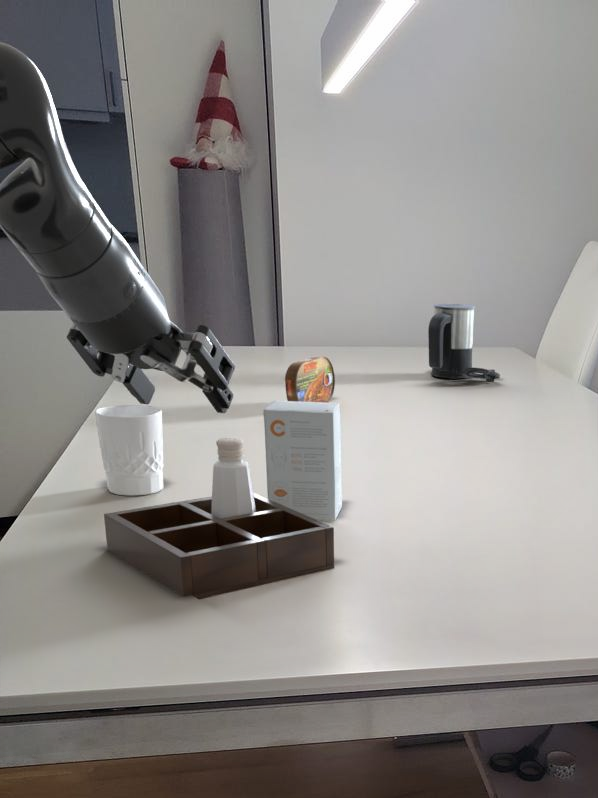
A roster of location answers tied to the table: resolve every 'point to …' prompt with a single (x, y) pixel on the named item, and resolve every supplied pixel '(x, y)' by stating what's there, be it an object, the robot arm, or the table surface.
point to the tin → (310, 380)
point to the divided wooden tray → (219, 545)
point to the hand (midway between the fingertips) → (186, 401)
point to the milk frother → (454, 343)
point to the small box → (304, 457)
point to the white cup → (131, 448)
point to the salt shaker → (231, 481)
